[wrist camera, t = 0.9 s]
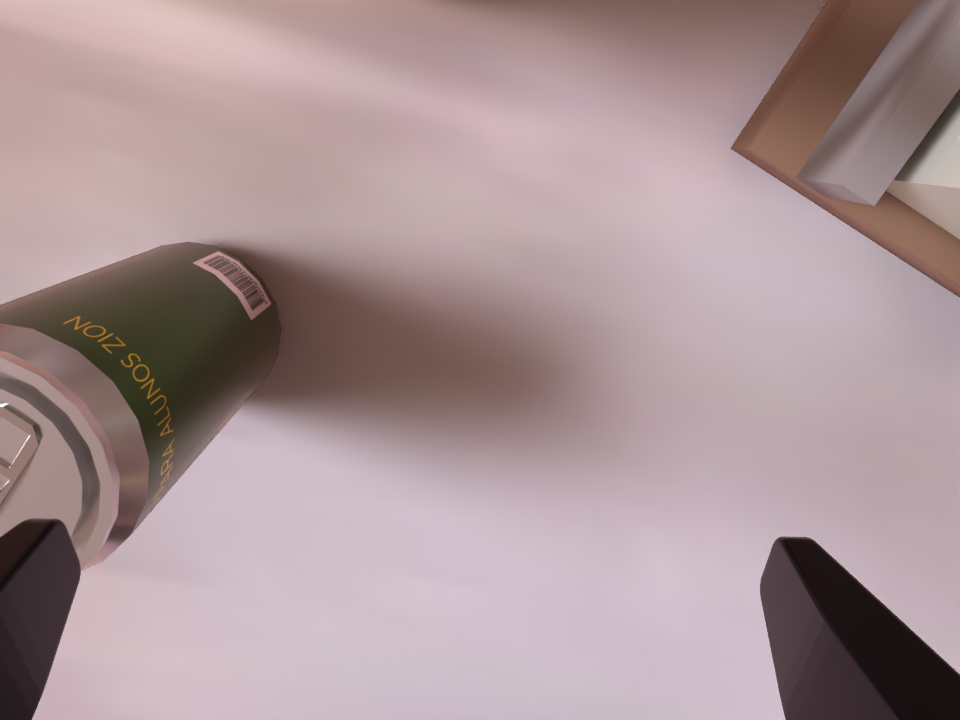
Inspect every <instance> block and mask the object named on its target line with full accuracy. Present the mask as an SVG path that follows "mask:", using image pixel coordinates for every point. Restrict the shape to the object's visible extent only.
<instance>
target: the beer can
mask: <svg viewBox="0 0 960 720" xmlns="http://www.w3.org/2000/svg"><path fill="white" fill-rule="evenodd" d="M280 333H281V326H280V322H279V317H278V312H277V308H276V303H275V301H274V300H273V298H272V296H271V294H270V292H269V291H268V289H267V287H266V285H265V284H264V282H263V280H262V279H261V278H260V277H259V276H258V275H257V274H256V273H255V272H254V271H253V270H252V269H251V268H250V267H249V266H248V265H247V264H246V263H244V262H243V261H242V260H241V259H239V258H237V257H235V256H233V255H231V254H229V253H227V252H225V251H224V250H222V249H220V248H218V247H215V246H209V245H203V244H198V243H192V242H185V243H177V244H170V245H163V246H160V247H157V248H154V249H152V250H149V251H146V252H143V253H141V254H138V255H135V256H132V257H130V258H127V259H124V260H122V261H119V262H116V263H113V264H111V265H108V266H105V267H102V268H100V269H97V270H94V271H92V272H89V273H86V274H83V275H81V276H78V277H75V278H72V279H70V280H67V281H64V282H62V283H59V284H56V285H53V286H51V287H48V288H45V289H42V290H40V291H37V292H34V293H32V294H29V295H26V296H23V297H21V298H18V299H15V300H12V301H10V302H7V303H4V304H2V305H0V536H2V535H3V534H5V533H6V532H7V531H9V530H10V529H12V528H13V527H14V526H16V525H17V524H19V523H20V522H22V521H24V520H26V519H30V518H46V519H59V520H61V521H62V522H63V523H64V524H65V525H66V527H67V530H68V532H69V535H70V537H71V540H72V543H73V545H74V548H75V550H76V553H77V555H78V558H79V561H80V566H81V571H82V570H85V569H87V568H89V567H91V566H93V565H96V564H98V563H100V562H102V561H104V560H105V559H106V558H107V557H108V556H109V555H110V554H112V553H113V552H114V551H115V550H116V549H117V548H118V547H119V546H120V545H121V544H122V543H123V542H124V541H125V540H126V539H127V538H128V537H129V536H130V535H131V534H132V533H133V532H134V530H135V529H136V528H137V527H138V526H139V525H140V523H141V522H142V521H143V520H144V519H145V518H146V517H147V515H148V514H149V513H150V512H151V511H152V510H153V508H154V507H155V506H156V505H157V504H158V503H159V501H160V500H161V499H162V498H163V497H164V496H165V494H166V493H167V492H168V491H169V490H170V489H171V487H172V486H173V485H174V484H175V483H176V482H177V480H178V479H179V478H180V477H181V476H182V475H183V474H184V472H185V471H186V470H187V469H188V468H189V467H190V465H191V464H192V463H193V462H194V461H195V460H196V458H197V457H198V456H199V455H200V454H201V453H202V451H203V450H204V449H205V448H206V447H207V446H208V444H209V443H210V442H211V441H212V440H213V439H214V437H215V436H216V435H217V434H218V433H219V432H220V431H221V429H222V428H223V427H224V426H225V425H226V424H227V422H228V421H229V420H230V419H231V418H232V417H233V415H234V414H235V413H236V412H237V411H238V410H239V408H240V407H241V406H242V405H243V404H244V403H245V401H246V400H247V399H248V398H249V397H250V396H251V394H252V393H253V392H254V391H255V390H256V389H257V387H258V386H259V385H260V384H261V383H262V382H263V381H264V379H265V378H266V377H267V376H268V374H269V372H270V370H271V368H272V366H273V363H274V361H275V359H276V357H277V355H278V351H279V342H280Z"/></svg>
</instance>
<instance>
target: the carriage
mask: <svg viewBox="0 0 960 720" xmlns="http://www.w3.org/2000/svg"><path fill="white" fill-rule="evenodd" d="M886 191H887V192H889V193H890V194H892V195H893V196H895V197H896V198H898V199H899V200H901V201H902V202H904V203H905V204H907V205H908V206H910V207H911V208H913V209H914V210H916V211H917V212H919V213H920V214H922V215H923V216H925V217H926V218H928V219H929V220H931V221H933V222H934V223H936V224H937V225H939V226H940V227H942V228H943V229H945V230H946V231H948V232H949V233H951V234H952V235H954V236H955V237H957V238H958V239H960V89H959V90H958V92H957V93H956V94H955V96H954V97H953V98H952V100H951V101H950V103H949V104H948V105H947V107H946V108H945V109H944V111H943V112H942V114H941V115H940V116H939V118H938V119H937V121H936V122H935V123H934V125H933V126H932V127H931V129H930V130H929V132H928V133H927V134H926V136H925V137H924V138H923V140H922V141H921V143H920V144H919V145H918V147H917V148H916V149H915V151H914V152H913V154H912V155H911V156H910V158H909V159H908V160H907V162H906V163H905V165H904V166H903V167H902V169H901V170H900V171H899V173H898V174H897V176H896V177H895V178H894V180H893V181H892V182H891V184H890V185H889V187H888V188H887V189H886Z"/></svg>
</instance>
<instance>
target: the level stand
mask: <svg viewBox="0 0 960 720" xmlns="http://www.w3.org/2000/svg"><path fill="white" fill-rule="evenodd" d="M959 89H960V0H828V2H827V3H826V5H825V6H824V8H823V9H822V11H821V12H820V14H819V15H818V17H817V18H816V20H815V21H814V23H813V24H812V26H811V28H810V29H809V31H808V32H807V34H806V35H805V37H804V38H803V40H802V41H801V43H800V44H799V46H798V47H797V49H796V50H795V52H794V53H793V55H792V56H791V58H790V59H789V61H788V62H787V64H786V65H785V67H784V68H783V70H782V71H781V73H780V74H779V76H778V77H777V79H776V80H775V82H774V84H773V85H772V87H771V88H770V90H769V91H768V93H767V94H766V96H765V97H764V99H763V100H762V102H761V103H760V105H759V106H758V108H757V109H756V111H755V112H754V114H753V115H752V117H751V118H750V120H749V121H748V123H747V124H746V126H745V127H744V129H743V130H742V132H741V133H740V135H739V137H738V138H737V140H736V141H735V143H734V144H733V146H732V147H731V149H732V150H734V151H735V152H737V153H738V154H740V155H741V156H743V157H745V158H746V159H748V160H749V161H751V162H752V163H754V164H755V165H757V166H758V167H760V168H761V169H763V170H765V171H766V172H768V173H769V174H771V175H772V176H774V177H775V178H777V179H778V180H780V181H781V182H783V183H785V184H786V185H788V186H789V187H791V188H792V189H794V190H795V191H797V192H798V193H800V194H801V195H803V196H805V197H806V198H808V199H809V200H811V201H812V202H814V203H815V204H817V205H818V206H820V207H821V208H823V209H825V210H826V211H828V212H829V213H831V214H832V215H834V216H835V217H837V218H838V219H840V220H842V221H843V222H845V223H846V224H848V225H849V226H851V227H852V228H854V229H855V230H857V231H858V232H860V233H862V234H863V235H865V236H866V237H868V238H869V239H871V240H872V241H874V242H875V243H877V244H878V245H880V246H882V247H883V248H885V249H886V250H888V251H889V252H891V253H892V254H894V255H895V256H897V257H898V258H900V259H902V260H903V261H905V262H906V263H908V264H909V265H911V266H912V267H914V268H915V269H917V270H918V271H920V272H922V273H923V274H925V275H926V276H928V277H929V278H931V279H932V280H934V281H935V282H937V283H938V284H940V285H942V286H943V287H945V288H946V289H948V290H949V291H951V292H952V293H954V294H955V295H957V296H958V297H960V239H958V238H957V237H955V236H954V235H952V234H951V233H949V232H948V231H946V230H945V229H943V228H942V227H940V226H939V225H937V224H936V223H934V222H933V221H931V220H929V219H928V218H926V217H925V216H923V215H922V214H920V213H919V212H917V211H916V210H914V209H913V208H911V207H910V206H908V205H907V204H905V203H904V202H902V201H901V200H899V199H898V198H896V197H895V196H893V195H892V194H890V193H889V192H887V191H886V189H887V188H888V187H889V185H890V184H891V182H892V181H893V180H894V178H895V177H896V176H897V174H898V173H899V171H900V170H901V169H902V167H903V166H904V165H905V163H906V162H907V160H908V159H909V158H910V156H911V155H912V154H913V152H914V151H915V149H916V148H917V147H918V145H919V144H920V143H921V141H922V140H923V138H924V137H925V136H926V134H927V133H928V132H929V130H930V129H931V127H932V126H933V125H934V123H935V122H936V121H937V119H938V118H939V116H940V115H941V114H942V112H943V111H944V109H945V108H946V107H947V105H948V104H949V103H950V101H951V100H952V98H953V97H954V96H955V94H956V93H957V92H958V90H959Z"/></svg>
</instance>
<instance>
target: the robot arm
mask: <svg viewBox="0 0 960 720" xmlns="http://www.w3.org/2000/svg"><path fill="white" fill-rule="evenodd" d="M80 574H81V566H80V561H79V558H78V555H77V553H76V550H75V548H74V545H73V543H72V540H71V537H70V535H69V532H68V530H67V527H66V525H65V524H64V523H63V522H62V521H61V520H59V519H46V518H30V519H26V520H24V521H22V522H20V523H19V524H17V525H16V526H14V527H13V528H12V529H10V530H9V531H7V532H6V533H5V534H3V535H2V536H0V720H32V718H33V715H34V713H35V711H36V708H37V706H38V703H39V701H40V699H41V696H42V693H43V691H44V688H45V685H46V682H47V679H48V677H49V674H50V670H51V667H52V664H53V661H54V658H55V655H56V652H57V649H58V646H59V643H60V639H61V636H62V633H63V630H64V627H65V624H66V621H67V618H68V615H69V612H70V609H71V605H72V602H73V599H74V596H75V593H76V590H77V587H78V584H79V580H80ZM760 595H761V601H762V606H763V611H764V616H765V621H766V627H767V632H768V637H769V642H770V647H771V652H772V657H773V662H774V667H775V672H776V677H777V683H778V688H779V693H780V697H781V702H782V706H783V711H784V715H785V718H786V720H960V674H959V673H958V672H956V671H955V670H954V669H953V668H952V667H951V666H950V665H949V664H948V663H947V662H946V661H945V660H943V659H942V658H941V657H940V656H939V655H938V654H937V653H936V652H935V651H934V650H933V649H932V648H930V647H929V646H928V645H927V644H926V643H925V642H924V641H923V640H922V639H921V638H920V637H918V636H917V635H916V634H915V633H914V632H913V631H912V630H911V629H910V628H909V627H908V626H907V625H905V624H904V623H903V622H902V621H901V620H900V619H899V618H898V617H897V616H896V615H895V614H894V613H892V612H891V611H890V610H889V609H888V608H887V607H886V606H885V605H884V604H883V603H882V602H881V601H879V600H878V599H877V598H876V597H875V596H874V595H873V594H872V593H871V592H870V591H869V590H867V589H866V588H865V587H864V586H863V585H862V584H861V583H860V582H859V581H858V580H857V579H856V578H854V577H853V576H852V575H851V574H850V573H849V572H848V571H847V570H846V569H845V568H844V567H843V566H841V565H840V564H839V563H838V562H837V561H836V560H835V559H834V558H833V557H832V556H831V555H829V554H828V553H827V552H826V551H825V550H824V549H823V548H822V547H821V546H820V545H819V544H818V543H816V542H815V541H814V540H812V539H810V538H807V537H779V538H777V539H776V540H775V542H774V544H773V546H772V549H771V552H770V555H769V557H768V560H767V563H766V566H765V569H764V572H763V575H762V578H761V583H760Z"/></svg>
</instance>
